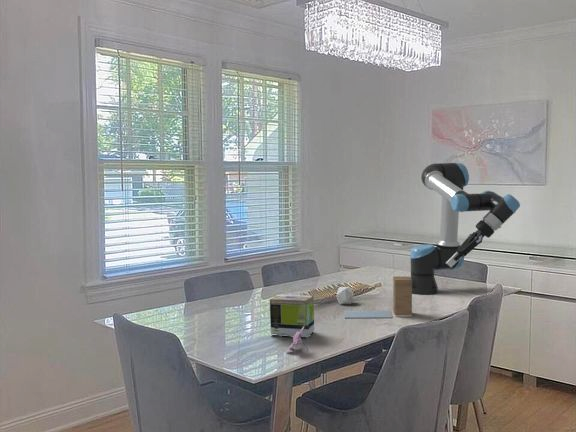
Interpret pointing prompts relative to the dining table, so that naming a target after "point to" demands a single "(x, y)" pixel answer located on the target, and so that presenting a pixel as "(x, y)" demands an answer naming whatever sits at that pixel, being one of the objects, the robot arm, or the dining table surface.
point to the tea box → (292, 314)
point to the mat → (368, 314)
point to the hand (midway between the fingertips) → (448, 265)
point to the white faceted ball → (344, 295)
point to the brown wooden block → (402, 296)
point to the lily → (297, 339)
